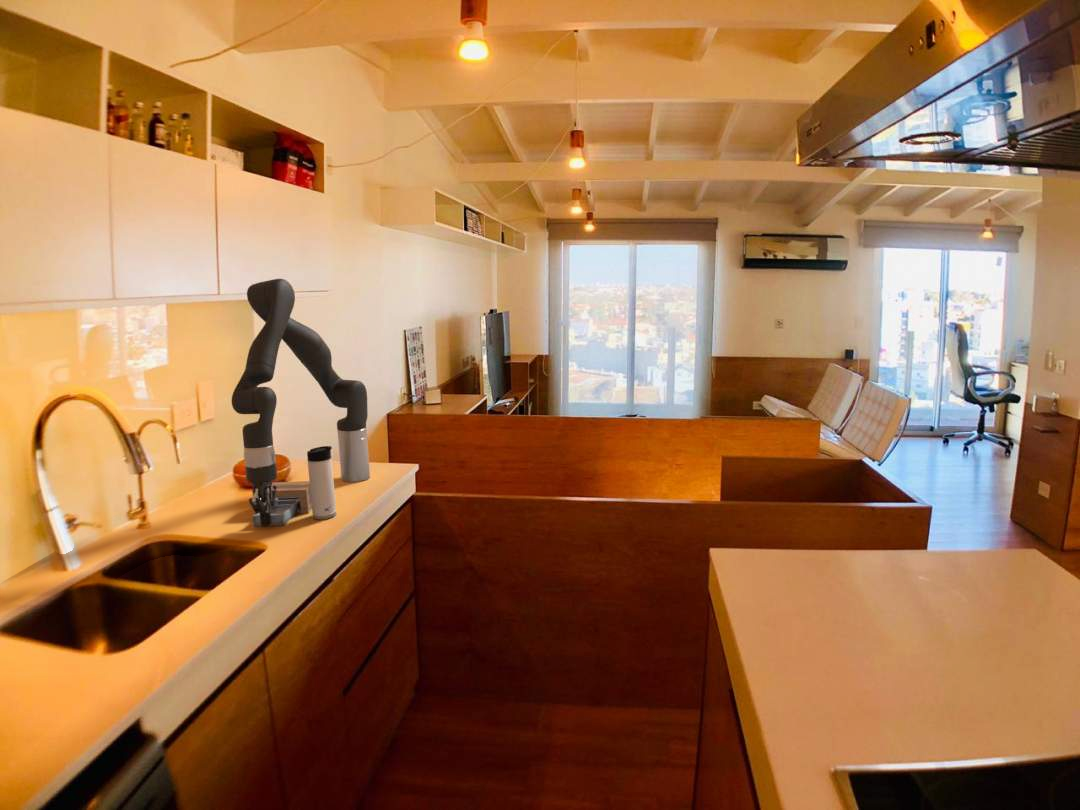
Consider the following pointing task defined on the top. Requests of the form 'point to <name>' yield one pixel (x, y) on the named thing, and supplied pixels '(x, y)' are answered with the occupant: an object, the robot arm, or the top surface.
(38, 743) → the top surface
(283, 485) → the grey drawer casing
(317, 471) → the travel mug
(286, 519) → the tray shell
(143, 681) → the top surface
